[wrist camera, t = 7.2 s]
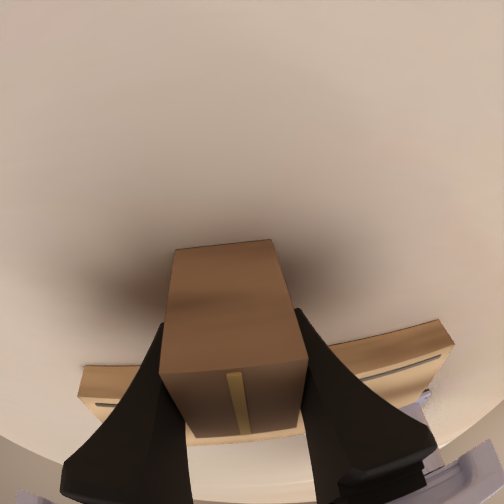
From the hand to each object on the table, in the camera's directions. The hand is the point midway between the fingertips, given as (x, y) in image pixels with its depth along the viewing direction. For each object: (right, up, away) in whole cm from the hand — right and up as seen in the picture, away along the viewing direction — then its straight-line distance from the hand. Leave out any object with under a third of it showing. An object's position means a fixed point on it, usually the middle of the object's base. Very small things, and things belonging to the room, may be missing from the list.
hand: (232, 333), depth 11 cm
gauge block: (0, +1, +2) cm, 3 cm away
